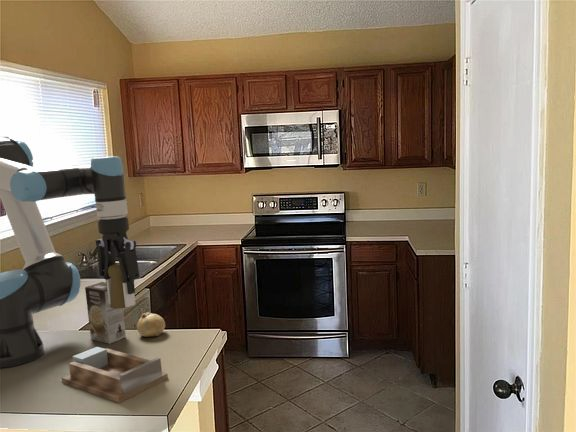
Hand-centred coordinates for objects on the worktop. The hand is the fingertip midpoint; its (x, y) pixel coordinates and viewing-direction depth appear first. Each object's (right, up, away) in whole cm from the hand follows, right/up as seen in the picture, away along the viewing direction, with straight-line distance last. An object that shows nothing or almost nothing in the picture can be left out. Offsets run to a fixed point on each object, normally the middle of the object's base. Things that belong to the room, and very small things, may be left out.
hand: (122, 304), depth 143 cm
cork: (0, -1, 0) cm, 0 cm away
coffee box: (-10, -13, +19) cm, 25 cm away
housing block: (-6, -15, -7) cm, 17 cm away
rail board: (+2, -16, -12) cm, 20 cm away
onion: (+3, -13, +19) cm, 23 cm away
